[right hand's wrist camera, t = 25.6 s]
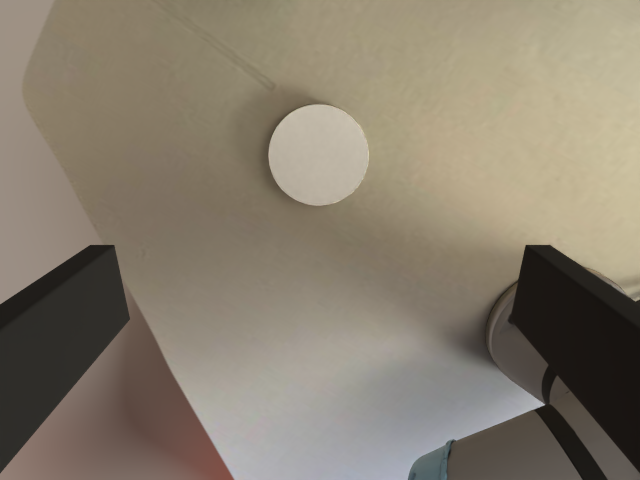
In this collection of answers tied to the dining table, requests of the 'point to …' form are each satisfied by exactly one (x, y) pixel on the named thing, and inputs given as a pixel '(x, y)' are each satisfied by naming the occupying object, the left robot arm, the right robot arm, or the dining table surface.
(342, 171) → the lid
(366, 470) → the dining table surface
